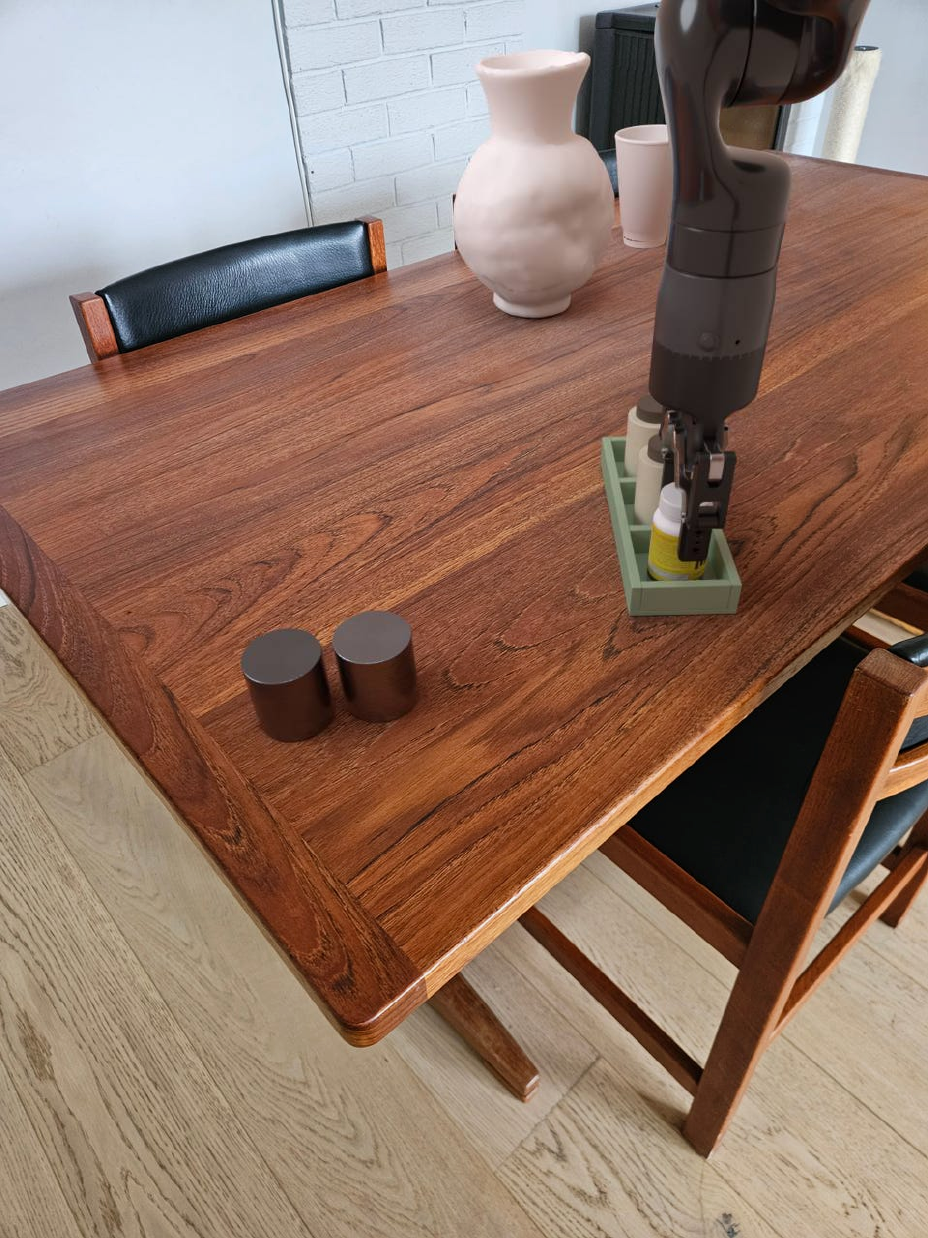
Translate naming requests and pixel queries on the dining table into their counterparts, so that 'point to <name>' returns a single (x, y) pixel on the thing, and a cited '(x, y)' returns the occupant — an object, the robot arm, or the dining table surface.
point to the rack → (633, 552)
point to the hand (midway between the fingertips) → (681, 527)
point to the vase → (533, 187)
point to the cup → (644, 184)
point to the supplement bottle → (670, 542)
